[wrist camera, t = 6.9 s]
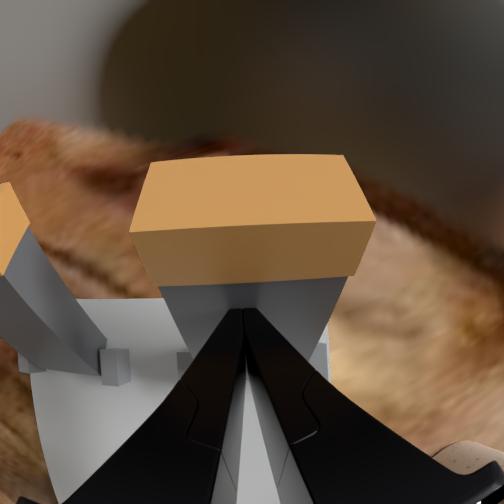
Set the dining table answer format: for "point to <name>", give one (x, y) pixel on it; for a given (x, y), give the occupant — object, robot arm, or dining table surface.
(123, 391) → the switch unit
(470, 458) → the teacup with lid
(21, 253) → the block
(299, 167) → the rocker
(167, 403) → the robot arm
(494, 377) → the dining table surface
